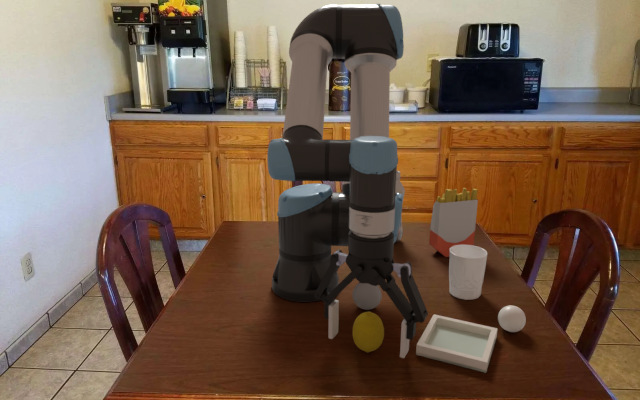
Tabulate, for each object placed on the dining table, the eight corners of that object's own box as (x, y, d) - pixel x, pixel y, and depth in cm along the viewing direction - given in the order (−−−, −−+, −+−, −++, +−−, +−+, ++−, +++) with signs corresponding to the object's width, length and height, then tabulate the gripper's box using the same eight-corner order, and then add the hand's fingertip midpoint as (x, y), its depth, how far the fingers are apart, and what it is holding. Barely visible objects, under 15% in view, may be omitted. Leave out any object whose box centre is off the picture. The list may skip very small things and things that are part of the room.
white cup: (484, 303, 109) (489, 259, 106) (446, 299, 110) (450, 256, 107) (481, 286, 116) (485, 245, 113) (445, 283, 118) (448, 243, 115)
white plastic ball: (494, 333, 97) (497, 309, 96) (498, 321, 101) (501, 298, 100) (522, 339, 95) (526, 315, 94) (525, 327, 99) (528, 304, 98)
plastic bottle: (374, 238, 145) (376, 170, 140) (396, 235, 147) (399, 168, 142) (384, 246, 140) (386, 175, 134) (406, 243, 142) (410, 173, 136)
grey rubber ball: (347, 311, 105) (348, 284, 104) (358, 298, 110) (359, 273, 109) (375, 317, 103) (376, 290, 101) (385, 304, 108) (386, 278, 106)
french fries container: (427, 251, 136) (432, 186, 131) (463, 247, 139) (469, 183, 134) (436, 258, 132) (441, 191, 127) (473, 253, 135) (479, 187, 130)
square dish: (415, 354, 90) (416, 344, 90) (433, 323, 101) (433, 314, 100) (486, 373, 85) (487, 362, 85) (496, 337, 96) (497, 328, 95)
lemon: (380, 343, 94) (382, 304, 92) (385, 360, 89) (387, 319, 86) (350, 343, 94) (351, 304, 91) (353, 361, 88) (354, 320, 86)
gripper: (294, 226, 87) (296, 337, 93) (440, 250, 76) (431, 374, 82) (314, 214, 93) (314, 318, 99) (451, 235, 83) (442, 350, 89)
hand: (367, 344), depth 91 cm, fingers open, 13 cm apart
